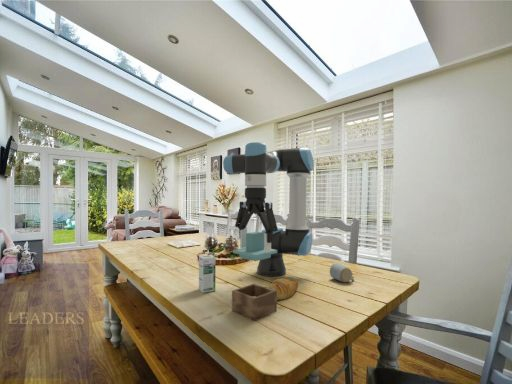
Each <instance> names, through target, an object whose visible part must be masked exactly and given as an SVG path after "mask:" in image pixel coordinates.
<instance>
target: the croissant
mask: <svg viewBox="0 0 512 384" xmlns="http://www.w3.org/2000/svg"><path fill="white" fill-rule="evenodd" d="M298 284H299V283H298V282H296V281H294V280H293V281H292V280H290V279H289V278H286V277H285V278H284V277H283V278H282V277H281V278H277V279H274V280H273V281H272V282H271V284H270V285H269V286H268V288H269V289H273V290H276V291H277V301H281V300H285V299H286V300H287V299H289V298H290V297H292V296H294V293H295V292H296V291H297V289H298Z"/></svg>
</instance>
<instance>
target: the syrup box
mask: <svg viewBox="0 0 512 384" xmlns="http://www.w3.org/2000/svg"><path fill="white" fill-rule="evenodd" d="M198 289H199V290H200V292H201V293H202V294H205V293H209V292H216V256H215V255H214V254H205V255H199V256H198Z"/></svg>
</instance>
